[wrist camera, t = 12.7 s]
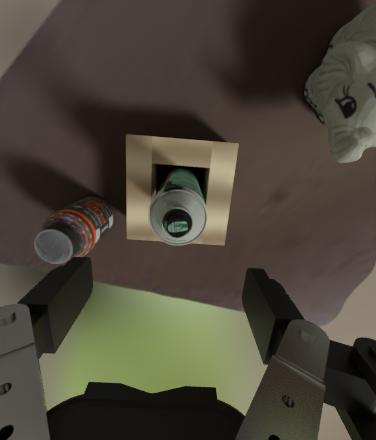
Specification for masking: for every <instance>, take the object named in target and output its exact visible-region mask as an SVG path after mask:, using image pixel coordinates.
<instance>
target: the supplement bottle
mask: <svg viewBox="0 0 376 440" xmlns="http://www.w3.org/2000/svg"><path fill="white" fill-rule="evenodd" d="M113 222H114V213H113V210H112V208H111V207H110V205H109V204H108V203H107V202H106V201H104V200H103V199H101V198H98V197H86V198H83V199H81V200H79V201H77V202H75V203H73V204H71V205H69V206H67V207H65V208H63V209H61V210H59V211H57V212H55V213H53V214H52V215H50V216H49V217H48V218H47V219H46V220H45V221H44V222H43V224H42V226H41V230H40V232H39V233H38V234H37V235H36V237H35V239H34V247H35V250H36V252H37V254H38V255H39V256H40V257H41V258H42V259H43V260H45V261H47V262H49V263H52V264H61V263H64V262H66V261H68V260H70V259H71V258H72V257H83V256H85V255H86V254H87V253H88V252H89V251H90V250H91V249H92V248H93V247H94V246H95V245H96V244H97V243H98V242H99V241H100V240H101V239H102V237H103V236H104V235H105V234H106V233H107V232H108V231H109V230H110V228H111V227H112V225H113Z"/></svg>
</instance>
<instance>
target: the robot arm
mask: <svg viewBox="0 0 376 440" xmlns="http://www.w3.org/2000/svg"><path fill="white" fill-rule="evenodd" d="M92 288H93V279H92V265H91V259H90V258H89V257H72V258H71V259H70V260H69V261H68V262H67V263H66V264H65V265H64V266H59V267H58V268H56V269H54V270H52V271H50V272H49V273H48V274H47V275H46V276H45V277H44V279H42V280H41V281H40V282H39V283H38V285H36V286H35V287H34V288H33V289H32V290H30V291H29V292H28V293H27V294H26V295H25V296H24V297H23V298H22V299H21V300H20V301H19V302H18V303H17V304H10V305H6V306H3V307H0V440H317V439H318V432H319V425H320V419H321V413H322V407H323V403H326V404H328V405H331V406H334V407H335V408H336V410H337V412H338V414H339V415H340V418H341V420H342V421H343V423H344V425H345V427H346V429H347V431H348V433H349V435H350V437H351V439H352V440H376V340H373V339H370V338H357V339H356V340H355V342H354V345H353V347H352V346H348V345H345V344H342V343H338V342H335V341H332V340H329V338H328V336H327V334H326V333H325V332H324V331H323V330H322V329H321V328H320V327H318V326H317V325H315V324H313V323H311V322H309V321H306V320H305V319H304V318H303V316H302V315H301V313H300V312H299V311H298V309H297V308H296V306H295V305H294V303H293V302H292V300H291V299H290V297H289V296H288V294H287V293H286V291H285V290H284V288H283V287H282V285H280V284H279V283H278V282H277V281H275V280H274V279H269V277H268V275H267V274H266V272H265V270H264V269H257V268H248V269H247V272H246V277H245V282H244V288H243V293H242V303H243V307H244V310H245V313H246V315H247V318H248V321H249V324H250V327H251V329H252V332H253V335H254V338H255V341H256V344H257V347H258V350H259V352H260V355H261V358H262V361H263V364H264V365H268V367H267V369H266V371H265V374H264V376H263V378H262V380H261V382H260V385H259V387H258V389H257V392H256V394H255V396H254V398H253V400H252V403H251V405H250V407H249V409H248V411H247V414H246V416H244V415H243V414H242V413H241V412H239V411H238V410H237V409H235V408H234V407H232V406H231V405H229V404H227V403H225V402H223V401H220V400H217V394H216V388H212V387H190V386H184V387H180V388H175V389H171V390H167V391H162V392H158V393H148V392H145V391H141V390H138V389H136V388H133V387H130V386H127V385H124V384H121V383H101V382H89V383H88V385H87V388H86V391H85V393H84V394H82V395H78V396H76V397H73V398H70V399H68V400H66V401H64V402H62V403H60V404H58V405H56V406H55V407H53V408H51V409H50V410H49V411H47V406H46V400H45V395H44V389H43V383H42V377H41V371H40V365H39V359H40V357H41V356H42V354H43V353H55V352H56V351H57V349H58V348H59V346H60V344H61V343H62V341H63V340H64V338H65V336H66V335H67V333H68V331H69V330H70V328H71V326H72V325H73V323H74V322H75V320H76V318H77V317H78V315H79V314H80V312H81V310H82V309H83V307H84V306H85V304H86V302H87V301H88V299H89V297H90V295H91V292H92Z"/></svg>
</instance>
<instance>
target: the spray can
mask: <svg viewBox="0 0 376 440" xmlns="http://www.w3.org/2000/svg"><path fill="white" fill-rule="evenodd" d="M207 216H208V215H207V208H206V205H205V202H204V199H203V196H202V193H201V189H200V186H199V183H198V180H197V178H196V176H195V174H194V173H193V172H192V171H190V170H189V169H187V168H175V169H173V170H171V171H170V172H169V173H168V174H167V176H166V177H165V179H164V181H163V183H162V184H161V186H160V188H159V190H158V191H157V193H156V195H155V197H154V198H153V200H152V202H151V204H150V207H149V213H148V220H149V225H150V228H151V230H152V232H153V233H154V235H155V236H156V237H157V238H158V239H160V240H161V241H163V242H165V243H167V244H171V245H178V246H179V245H186V244H189V243H191V242H193V241H195V240H196V239H197V238H199V237H200V235H201V234H202V233H203V231H204V229H205V227H206V224H207Z"/></svg>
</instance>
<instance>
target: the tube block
mask: <svg viewBox="0 0 376 440" xmlns="http://www.w3.org/2000/svg"><path fill="white" fill-rule="evenodd" d="M238 145H239V143H227V142H215V141H203V140H191V139H178V138H166V137H154V136H142V135H130V134H126V200H127V239H136V240H151V241H161V240H160V239H158V238H157V237H156V236H155V235H154V233H153V232H152V230H151V228H150V225H149V220H148V213H149V207H150V204H151V202H152V200H153V198H154V197H155V195H156V193H157V174H158V164H166V165H179V166H191V167H204V168H205V173H204V183H203V193H202V196H203V199H204V202H205V205H206V208H207V215H208V216H207V224H206V227H205V229H204V231H203V233H202V234H201V235H200V237H199V238H197V239H196V240H195V241H193V242H191V243H196V244H211V245H224V244H225V237H226V230H227V223H228V216H229V209H230V202H231V195H232V188H233V181H234V174H235V167H236V159H237V152H238Z"/></svg>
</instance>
